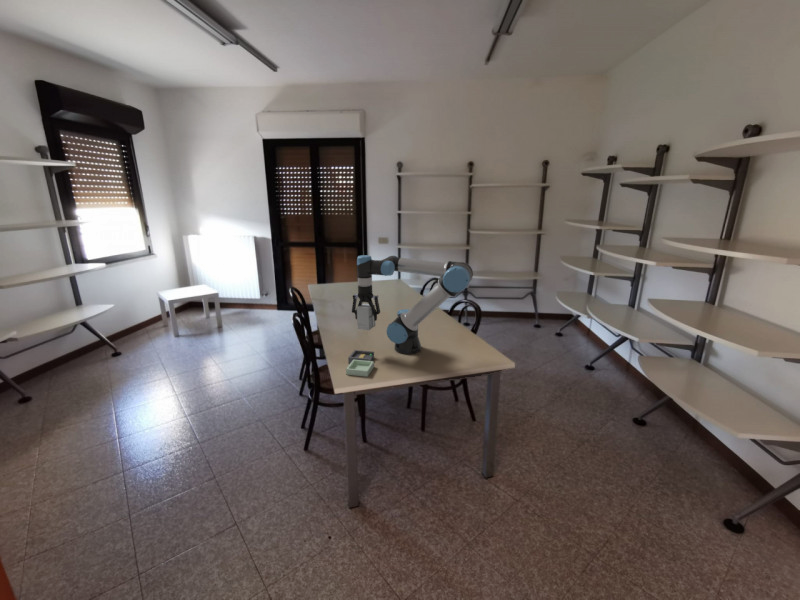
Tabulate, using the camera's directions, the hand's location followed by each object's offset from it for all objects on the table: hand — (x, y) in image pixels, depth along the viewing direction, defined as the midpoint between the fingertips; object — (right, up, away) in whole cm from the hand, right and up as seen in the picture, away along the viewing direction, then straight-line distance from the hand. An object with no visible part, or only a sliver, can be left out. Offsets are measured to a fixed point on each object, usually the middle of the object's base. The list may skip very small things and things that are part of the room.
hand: (366, 325), depth 199 cm
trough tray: (-2, -22, -15) cm, 27 cm away
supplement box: (0, -1, 0) cm, 2 cm away
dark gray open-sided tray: (-2, -19, -4) cm, 19 cm away
